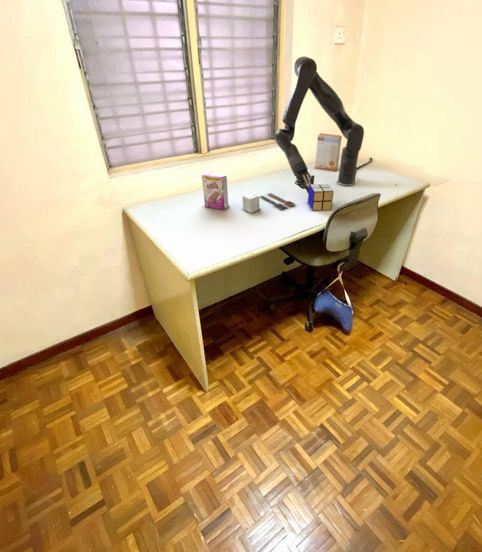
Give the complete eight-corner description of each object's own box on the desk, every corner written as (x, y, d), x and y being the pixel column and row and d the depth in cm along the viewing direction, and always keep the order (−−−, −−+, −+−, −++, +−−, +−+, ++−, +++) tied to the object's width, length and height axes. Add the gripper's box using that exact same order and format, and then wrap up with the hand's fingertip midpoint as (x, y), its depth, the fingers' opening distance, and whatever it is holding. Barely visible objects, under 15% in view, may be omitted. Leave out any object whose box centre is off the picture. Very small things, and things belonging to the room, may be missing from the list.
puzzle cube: (307, 202, 174) (309, 184, 168) (326, 201, 175) (328, 183, 169) (312, 210, 166) (313, 191, 160) (331, 210, 167) (334, 191, 161)
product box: (259, 209, 166) (259, 195, 161) (250, 213, 162) (250, 199, 158) (251, 205, 169) (251, 192, 165) (242, 209, 166) (242, 195, 161)
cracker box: (337, 168, 217) (342, 135, 205) (335, 171, 213) (339, 137, 200) (317, 165, 222) (320, 132, 209) (314, 168, 217) (317, 134, 205)
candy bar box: (204, 207, 167) (201, 175, 157) (209, 203, 171) (206, 171, 161) (224, 210, 164) (222, 178, 154) (229, 206, 168) (227, 174, 158)
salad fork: (264, 196, 179) (264, 195, 179) (287, 208, 167) (287, 207, 167) (258, 198, 177) (258, 197, 177) (281, 210, 165) (281, 209, 165)
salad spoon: (272, 193, 182) (272, 192, 182) (296, 205, 170) (296, 204, 170) (266, 195, 180) (266, 194, 179) (290, 207, 168) (290, 206, 168)
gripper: (291, 163, 166) (306, 194, 165) (310, 158, 173) (324, 188, 172) (284, 170, 172) (298, 200, 172) (302, 166, 179) (316, 194, 179)
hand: (311, 194), depth 172 cm, fingers closed
